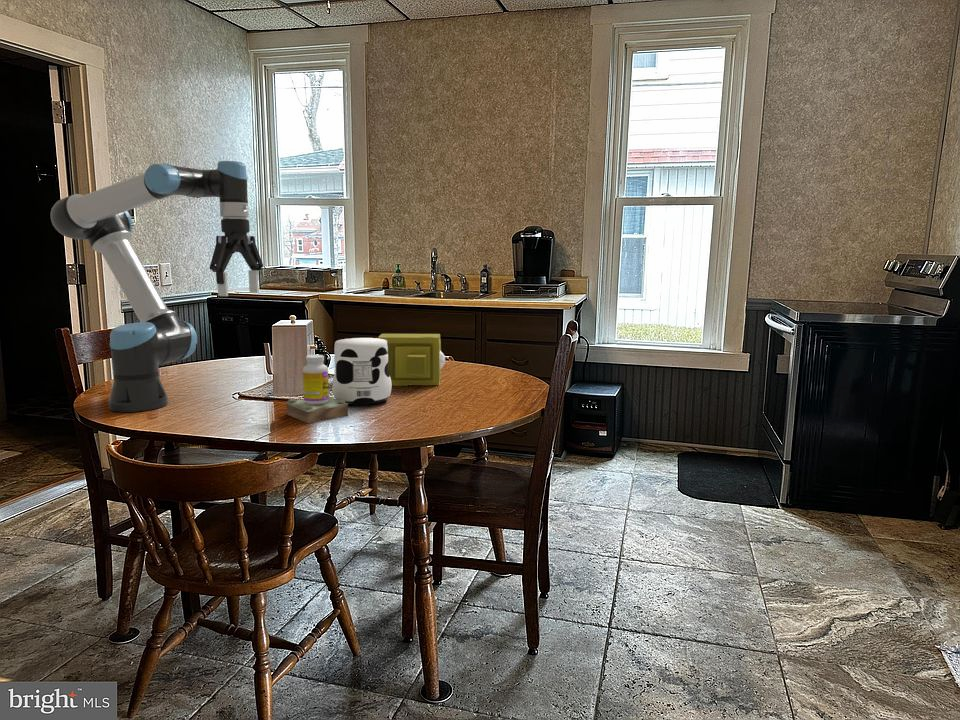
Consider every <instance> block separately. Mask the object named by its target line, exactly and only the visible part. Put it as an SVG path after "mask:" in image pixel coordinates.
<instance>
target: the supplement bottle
mask: <svg viewBox="0 0 960 720" xmlns="http://www.w3.org/2000/svg"><path fill="white" fill-rule="evenodd" d="M305 361H306V365H304V366H303V368H302V379H303V381H302V382H303V383H302V384H303V385H302V386H303V389H302V390H303V399H304V402H305V403H306V404H309V405H320V404H325V403H327V402H328V401H329V397H330V396H329V395H330V393H329V391H330V390H329V368H328V366H327V365H325V364H324V361H325V356H324V355H323V354H309V355H306V356H305Z"/></svg>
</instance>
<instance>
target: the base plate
mask: <svg viewBox="0 0 960 720" xmlns="http://www.w3.org/2000/svg"><path fill="white" fill-rule="evenodd" d="M348 406H349V404H348V403H346V402H345V400H337V399H335V397H331V396H329V401H328V402H327V403H325V404H320V405H309V404H306V403H305V402H304V398H302V399H295V398H290V399H288V401H286V415H288V416H290V417H292V418H295V419H296V420H299V421H301V422H304V423H306V424H312V423H315V422H316V423H317V422H323V421H327V420H332V419H337V418H343V417H348V416H349V407H348Z"/></svg>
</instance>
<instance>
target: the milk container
mask: <svg viewBox="0 0 960 720" xmlns="http://www.w3.org/2000/svg"><path fill="white" fill-rule="evenodd" d="M333 350H334V352H333V353H334V374H333V377H332V378H333V379H332V383H331V384H332V385H331V389H332V394H333V398H334V399H337V400H345V402H346V403H348V405H371V404H377V403H380V402H384V401H386V400H387V399H388V398H390V395H391V393H392V383H391V378H390V375H389V371H388V346H387V340H384V339H378V337H375V338H374V337H352V338H344V339H342V338H341V339H338V340H336V341H335V342H334V349H333Z"/></svg>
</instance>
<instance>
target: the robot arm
mask: <svg viewBox="0 0 960 720" xmlns="http://www.w3.org/2000/svg"><path fill="white" fill-rule="evenodd" d="M216 167H217V168H216V169H199V168H192V167H186V166H178V165H172V164H168V163H153V164H150V165H149V166H148V168H146V170H145V172H144V173H142V174H138V175H136V176H133V177H131V178H127V179H125V180H123V181H120V182H119V181H118V182H117V183H113V184H111V185H108V186H106V187H103V188H99V189H96V190H94V191H92V192H89V193H86V194H81V193H75V194H72V195H68V196H67V197H64V198H61V199H59V200H57V201H56V202H55V204H53V206H52V208H51V211H50V220H51V221H50V222H51V223H52V227H54V229H55V230H56V231H57V232H58V233H59V234H61V235H62V236H64V237H66V238H69V239H72V240H87V241H88V244H89V245H90V247H91V248H92V250H93V251H94V252H97V253H100V254H101V255H102V257H103V258H104V260H105V262H106V264H107V266H108V267H109V269H110V270H111V273H112V274H113V276H114V278H115V280H116V281H117V283H118V285H119V286H120V289H121V291H122V292H123V294H124V296H125V298H126V299H127V301H128V302H129V305H130V306H131V308H132V310H133V311H134V314H135V315H136V316H137V319H138V321H139V322H133V323H126V324H121V325H118V326H115V327H114V328H112V329H111V331H110V334H109V339H110V340H109V347H110V356H111V366H112V367H111V368H112V375H113V376H112V377H113V383H112V387H111V390H110V394H109V398H108V409H109V410H110V411H112V412H118V413H119V412H120V413H135V412H144V411H151V410H157V409H160V408H163V407H166V406H167V405H168V403H169V400H168V395H167V392H166V390H165V388H164V386H163V383H162V380H161V378H160V373H159V371H160V370H159V366H160V365H165V364H169V363H174V362H180V361H182V360H185V359H188V357H190V356H191V355H193V354H194V352H195V350H196V348H197V344H198V335H197V331H196V330H195V328H194V326H193V325H192V324H191V323H190V322H187V321H185V320H181V319H180V317H179V316H178V313H177V311H175V310H172V309H169V308H168V306H167V305H166V303H165V301H164V299H163V298H162V295H161V294H160V293H159V290H158V289H157V288H156V285H155V284H154V283H153V280H152V278H151V276H150V274H149V273H148V272H147V269H146V268H145V266H144V264H143V263H142V261H141V258H140V257H139V256H138V253H137V252H136V250H135V248H134V246H133V245H132V243H131V240H132V238H133V234H132V231H133V226H132V224H133V219H132V216H131V214H130V212H129V211H130V210H134V209H136V208H139V207H142V206H145V205H148V204H150V203H153V202H156V201H159V200H162V199H165V198H167V197H171V196H185V197H187V198H194V199H195V198H196V199H201V198H215V197H216V198H219V199H218V200H219V212H220V213H219V214H220V216H219V217H220V218H222V219H221V220H220V228H221V230H220V231H221V232H222V233H224V235H216V237H215V246H214V250H213V253H212V257H211V261H210V264H209V270H210V271H212V273H215V276H216V277H215V278H216V279H215V281H216V284H217V294H218V295H217V296H218V297H229V288H228V272H225V271H226V269H227V266H228V265H229V263H230V260H231V258H232V256H233V254H235V253H239V254H241V256H242V257H243V259H244V261H245V262H246V264H247V266H248V267H249V270H247V271H248V287H249V288H248V289H249V290H248V291H249V293H251V294H252V293H257V294H258V293H260V290H259V289H260V288H259V281H260V280H259V279H260V277H259V276H260V275H259V274H260V273H259V271H261V270H262V269H263V267H264V263H263V261H262V258H261V255H260V252H259V249H258V247H257V244H256V238H255V236H254V235H248V233H250V231H251V230H250V220H249V219H248V218H249V217H250V216H249V215H250V214H249V199H248V176H247V166H246V164H245V163H243V162H242V161H236V160H221V161H220V160H219V161H218V162H217V166H216Z"/></svg>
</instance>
